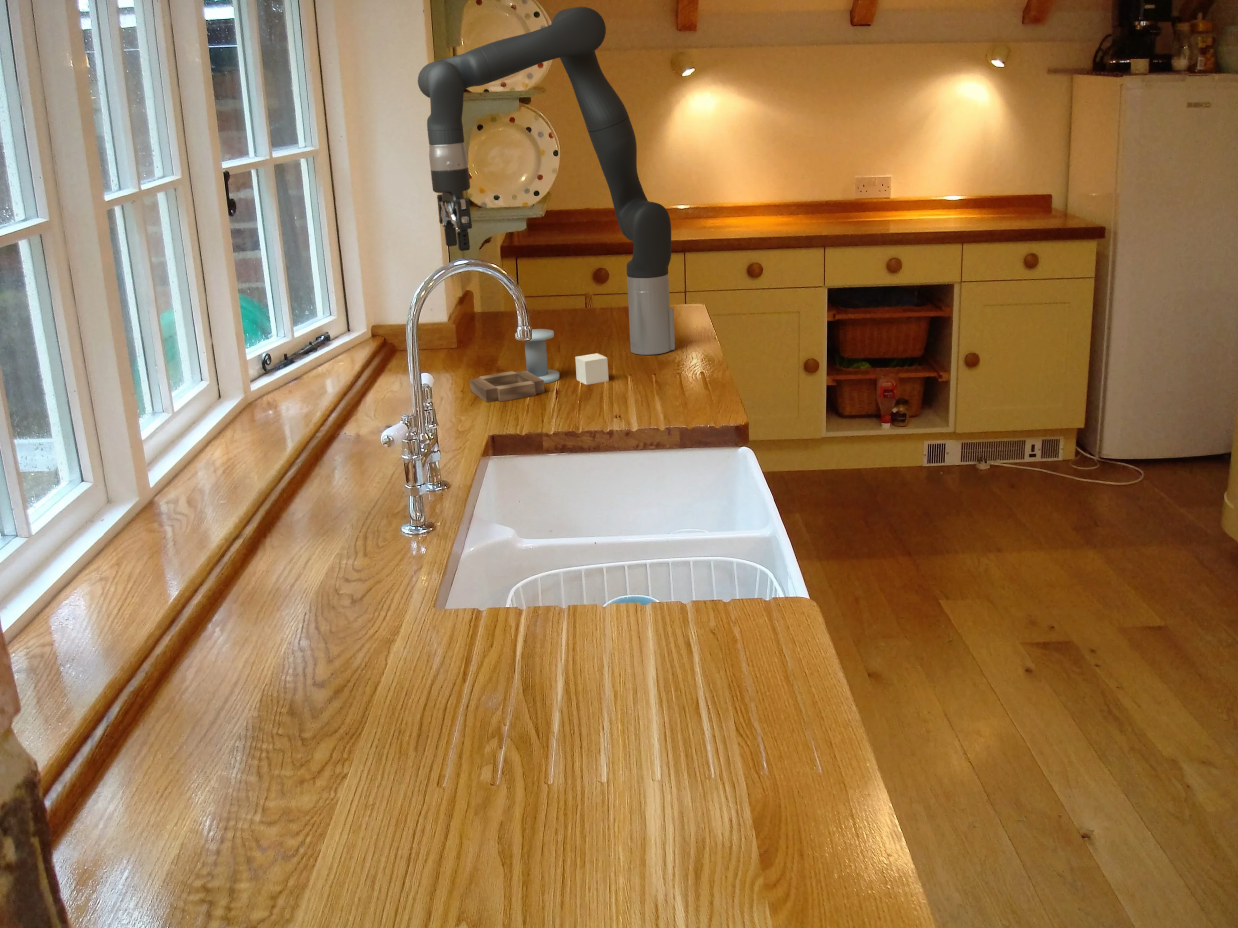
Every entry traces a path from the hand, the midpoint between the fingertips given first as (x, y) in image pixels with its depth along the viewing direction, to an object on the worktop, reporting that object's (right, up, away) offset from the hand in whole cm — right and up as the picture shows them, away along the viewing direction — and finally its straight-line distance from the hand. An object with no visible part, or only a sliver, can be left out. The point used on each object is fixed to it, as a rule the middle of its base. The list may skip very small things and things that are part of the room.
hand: (457, 248), depth 248 cm
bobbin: (+16, -26, +7) cm, 31 cm away
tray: (+10, -30, -2) cm, 31 cm away
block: (+27, -27, +3) cm, 39 cm away
